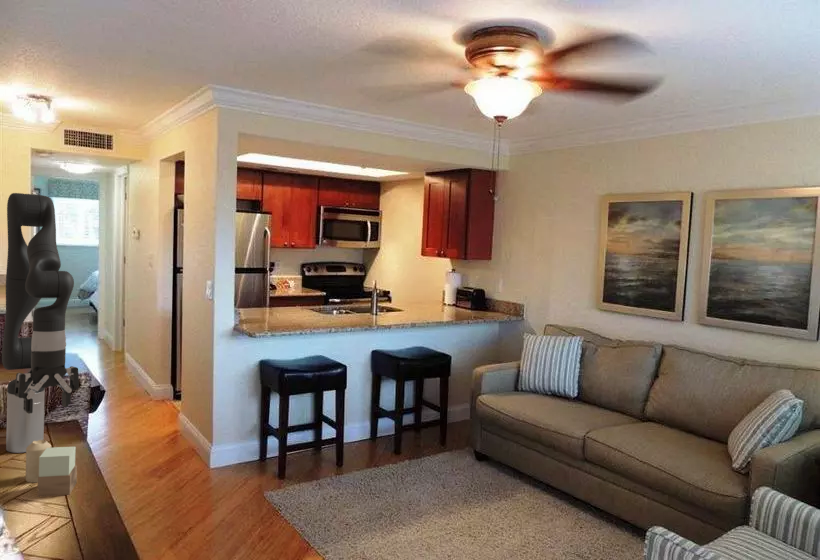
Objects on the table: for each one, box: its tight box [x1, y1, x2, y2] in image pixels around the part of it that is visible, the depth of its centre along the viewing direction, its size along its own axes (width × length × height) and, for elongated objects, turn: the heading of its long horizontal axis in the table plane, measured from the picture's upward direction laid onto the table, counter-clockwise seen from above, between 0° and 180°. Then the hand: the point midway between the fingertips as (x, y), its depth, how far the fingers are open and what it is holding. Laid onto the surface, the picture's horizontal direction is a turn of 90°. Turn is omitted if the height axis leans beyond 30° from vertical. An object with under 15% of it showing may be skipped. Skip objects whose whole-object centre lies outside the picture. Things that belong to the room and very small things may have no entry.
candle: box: [25, 439, 52, 483], centre depth 150 cm, size 6×6×10 cm
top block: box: [39, 446, 77, 477], centre depth 145 cm, size 6×6×5 cm
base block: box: [37, 464, 78, 498], centre depth 145 cm, size 7×7×5 cm
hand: (47, 409), depth 148 cm, fingers open, 8 cm apart
